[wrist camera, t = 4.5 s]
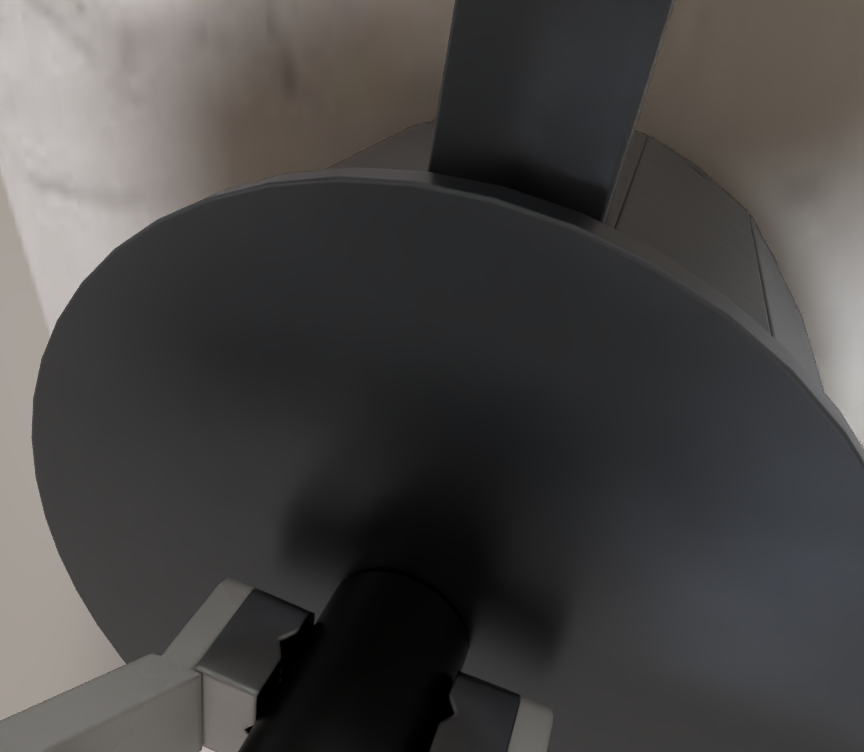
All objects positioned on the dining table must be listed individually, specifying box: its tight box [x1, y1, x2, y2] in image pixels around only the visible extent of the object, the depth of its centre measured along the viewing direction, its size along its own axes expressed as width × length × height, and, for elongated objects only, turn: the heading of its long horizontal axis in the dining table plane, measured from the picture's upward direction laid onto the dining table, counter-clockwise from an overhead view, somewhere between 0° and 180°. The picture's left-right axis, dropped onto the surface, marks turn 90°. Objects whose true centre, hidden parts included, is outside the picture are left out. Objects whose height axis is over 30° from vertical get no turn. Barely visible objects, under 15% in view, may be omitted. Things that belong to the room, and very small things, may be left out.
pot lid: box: [32, 167, 864, 752], centre depth 11 cm, size 15×15×5 cm
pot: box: [325, 0, 824, 391], centre depth 16 cm, size 14×19×8 cm
